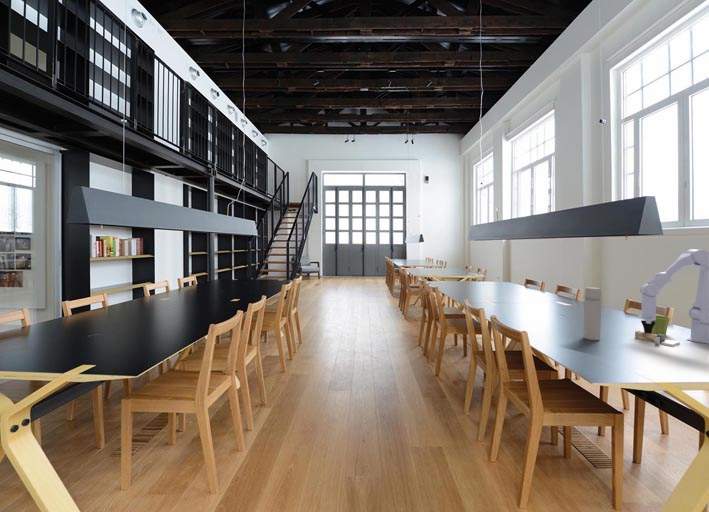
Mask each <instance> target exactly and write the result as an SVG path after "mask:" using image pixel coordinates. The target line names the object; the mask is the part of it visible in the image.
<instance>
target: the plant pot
mask: <svg viewBox="0 0 709 512" xmlns="http://www.w3.org/2000/svg"><path fill="white" fill-rule="evenodd" d="M670 320H671V317H669V316H664V315H656V320H653V321H655V325H654V326H653V328H652V332H651V334H656V335H657V334H662V335H665V336H666V335H667V331H668V326H669V323H670Z"/></svg>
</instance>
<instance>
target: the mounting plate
mask: <svg viewBox="0 0 709 512" xmlns="http://www.w3.org/2000/svg"><path fill="white" fill-rule="evenodd" d="M662 344H663V346H667V345H668V347H672V346H673V347H675V345H676V346H678V345H680V344H681V342H680V341H679V340H678V341H676V340H672V339H668V340H665V341H664V342H662V343H661V345H662Z"/></svg>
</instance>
